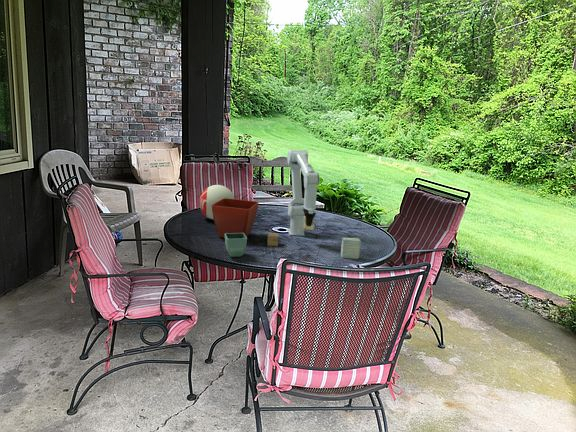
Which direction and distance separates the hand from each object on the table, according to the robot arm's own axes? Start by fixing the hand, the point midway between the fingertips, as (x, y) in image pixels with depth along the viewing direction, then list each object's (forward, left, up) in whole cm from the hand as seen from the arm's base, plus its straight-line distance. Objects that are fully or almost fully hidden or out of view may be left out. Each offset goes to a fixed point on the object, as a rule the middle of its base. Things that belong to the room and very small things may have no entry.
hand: (308, 224), depth 230 cm
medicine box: (+19, +18, -10) cm, 28 cm away
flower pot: (+23, -34, -10) cm, 42 cm away
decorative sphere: (-39, -48, -10) cm, 63 cm away
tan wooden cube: (+4, -17, -10) cm, 20 cm away
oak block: (0, 0, -2) cm, 2 cm away
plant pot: (-8, -36, -10) cm, 38 cm away
